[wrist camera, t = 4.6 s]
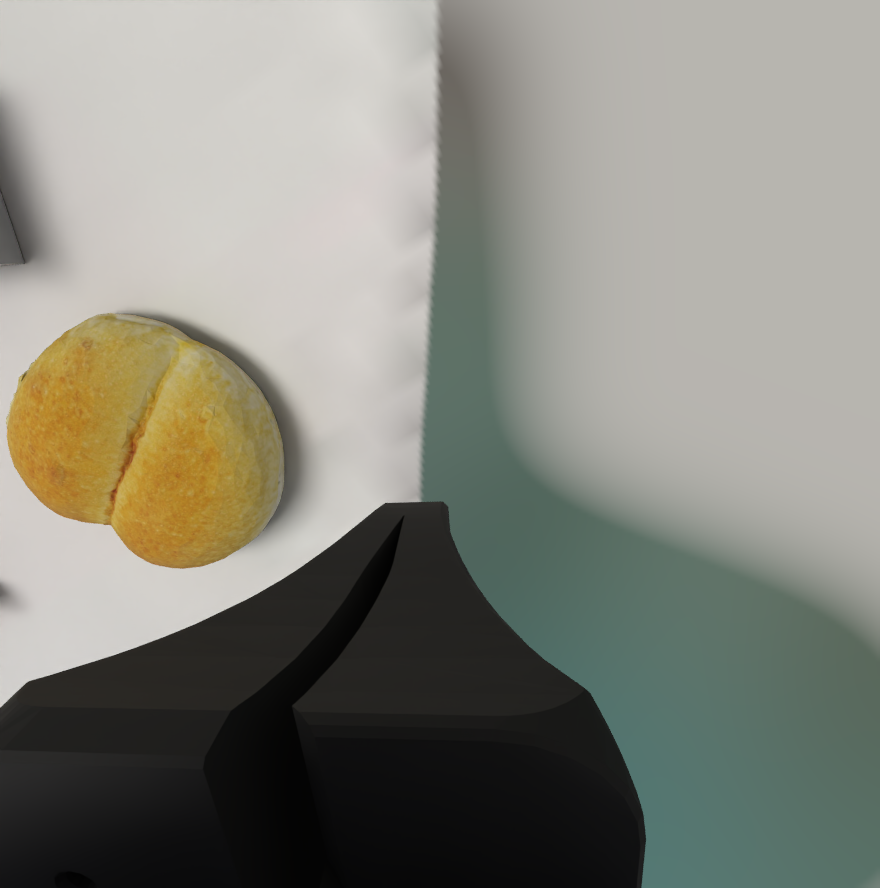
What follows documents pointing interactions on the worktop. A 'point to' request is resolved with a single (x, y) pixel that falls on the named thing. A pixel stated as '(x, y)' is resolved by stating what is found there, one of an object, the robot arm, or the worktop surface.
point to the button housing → (8, 239)
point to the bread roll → (148, 440)
